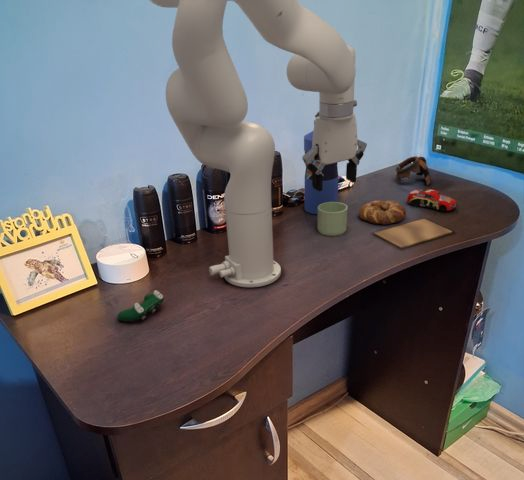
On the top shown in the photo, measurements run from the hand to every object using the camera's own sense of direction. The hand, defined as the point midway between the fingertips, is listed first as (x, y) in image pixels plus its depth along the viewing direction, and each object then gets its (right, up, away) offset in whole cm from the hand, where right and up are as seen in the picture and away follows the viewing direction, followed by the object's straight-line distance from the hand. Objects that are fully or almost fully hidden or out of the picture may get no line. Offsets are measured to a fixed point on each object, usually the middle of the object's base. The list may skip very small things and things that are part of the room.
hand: (334, 185), depth 130 cm
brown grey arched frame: (+29, +11, +33) cm, 45 cm away
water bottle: (-1, -1, +19) cm, 19 cm away
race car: (+28, -1, +16) cm, 33 cm away
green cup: (0, -9, +6) cm, 11 cm away
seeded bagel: (+14, -5, +11) cm, 19 cm away
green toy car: (-41, -33, -23) cm, 57 cm away
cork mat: (+20, -11, +2) cm, 23 cm away
